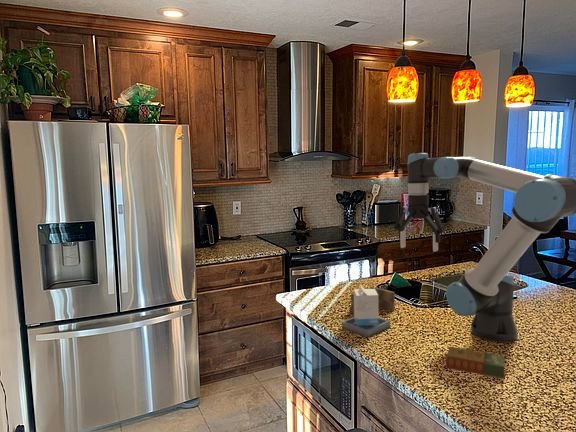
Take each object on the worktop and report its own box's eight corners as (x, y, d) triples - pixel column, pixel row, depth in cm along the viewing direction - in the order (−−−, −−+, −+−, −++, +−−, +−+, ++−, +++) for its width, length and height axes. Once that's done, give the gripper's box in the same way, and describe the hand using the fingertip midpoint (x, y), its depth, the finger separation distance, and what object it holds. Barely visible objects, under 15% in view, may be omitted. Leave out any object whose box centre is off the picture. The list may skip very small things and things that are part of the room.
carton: (448, 357, 138) (449, 345, 138) (504, 367, 131) (504, 354, 131) (445, 369, 131) (446, 355, 130) (504, 380, 124) (504, 366, 123)
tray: (390, 327, 164) (390, 320, 163) (367, 337, 155) (367, 331, 154) (364, 318, 173) (364, 312, 173) (341, 328, 164) (341, 321, 164)
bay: (394, 310, 181) (394, 292, 180) (374, 319, 172) (374, 300, 171) (369, 303, 191) (369, 286, 190) (349, 311, 182) (349, 293, 181)
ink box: (379, 325, 159) (379, 290, 157) (356, 326, 159) (356, 291, 158) (375, 317, 168) (374, 284, 166) (353, 317, 168) (353, 284, 166)
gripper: (454, 193, 156) (454, 250, 159) (394, 193, 174) (395, 244, 176) (445, 195, 151) (445, 254, 153) (384, 194, 169) (385, 247, 171)
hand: (418, 249), depth 165 cm, fingers open, 13 cm apart
